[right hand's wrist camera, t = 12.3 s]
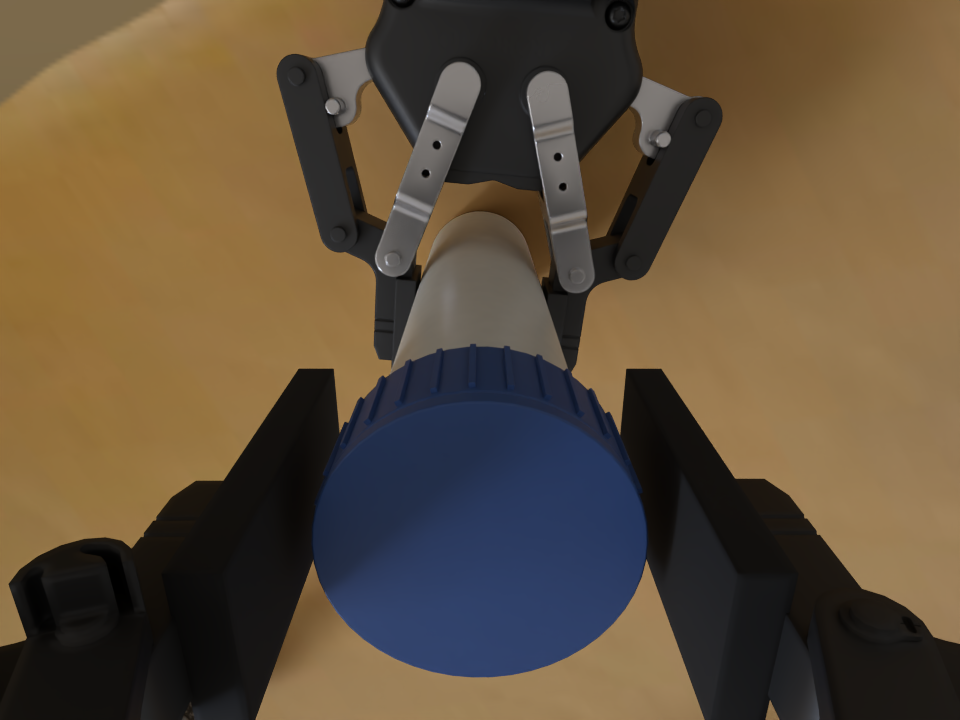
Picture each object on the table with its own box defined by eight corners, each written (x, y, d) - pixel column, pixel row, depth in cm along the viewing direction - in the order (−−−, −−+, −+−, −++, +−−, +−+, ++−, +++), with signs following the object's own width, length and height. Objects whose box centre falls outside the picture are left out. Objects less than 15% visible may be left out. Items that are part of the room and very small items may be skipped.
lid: (295, 531, 13) (258, 617, 11) (403, 289, 11) (385, 336, 9) (540, 623, 14) (551, 718, 12) (678, 414, 12) (721, 482, 10)
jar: (414, 284, 29) (306, 586, 11) (455, 193, 28) (408, 370, 10) (502, 324, 30) (537, 670, 12) (547, 238, 29) (666, 481, 10)
